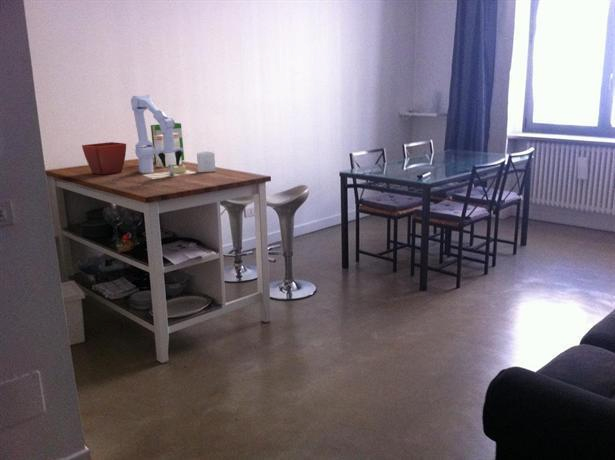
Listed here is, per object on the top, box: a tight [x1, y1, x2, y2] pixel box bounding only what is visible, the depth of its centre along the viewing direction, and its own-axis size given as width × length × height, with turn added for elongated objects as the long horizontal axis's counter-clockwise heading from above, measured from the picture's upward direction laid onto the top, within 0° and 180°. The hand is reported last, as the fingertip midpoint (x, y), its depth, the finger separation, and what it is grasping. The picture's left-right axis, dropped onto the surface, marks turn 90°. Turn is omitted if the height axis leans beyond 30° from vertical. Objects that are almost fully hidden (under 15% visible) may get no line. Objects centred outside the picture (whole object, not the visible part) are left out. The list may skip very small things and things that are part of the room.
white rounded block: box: [196, 149, 216, 173], centre depth 342 cm, size 10×4×12 cm, turn 126°
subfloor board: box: [142, 169, 197, 180], centre depth 337 cm, size 18×26×1 cm
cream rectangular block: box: [174, 164, 187, 174], centre depth 340 cm, size 5×8×4 cm, turn 124°
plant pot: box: [81, 141, 127, 176], centre depth 353 cm, size 19×19×17 cm
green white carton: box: [150, 122, 185, 163], centre depth 390 cm, size 18×7×24 cm, turn 126°
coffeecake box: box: [154, 133, 183, 168], centre depth 372 cm, size 15×7×20 cm, turn 144°
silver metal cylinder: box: [168, 164, 175, 177], centre depth 331 cm, size 3×3×6 cm
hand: (171, 165), depth 330 cm, fingers open, 7 cm apart
